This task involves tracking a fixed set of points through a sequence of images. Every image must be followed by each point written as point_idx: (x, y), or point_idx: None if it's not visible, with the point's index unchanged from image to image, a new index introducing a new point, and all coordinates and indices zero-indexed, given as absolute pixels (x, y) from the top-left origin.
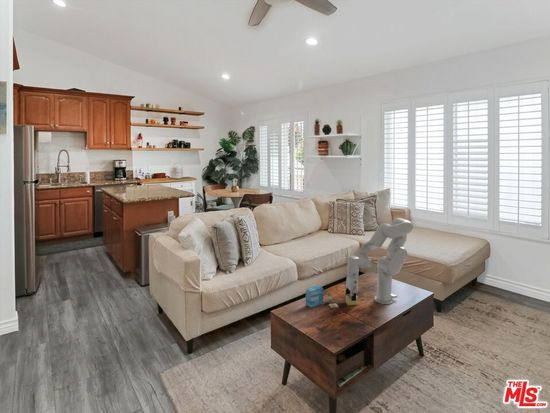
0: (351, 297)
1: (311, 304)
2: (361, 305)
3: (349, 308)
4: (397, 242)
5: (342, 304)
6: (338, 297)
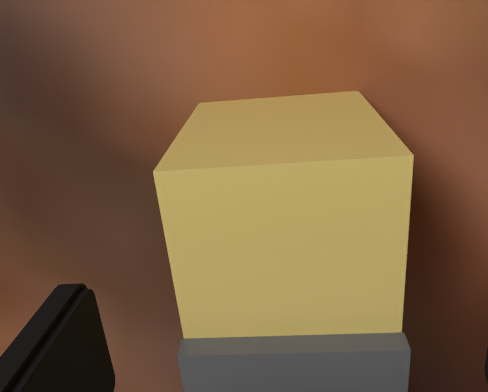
0: (401, 378)
1: None
2: (432, 14)
3: (485, 317)
4: None
5: None
6: None
